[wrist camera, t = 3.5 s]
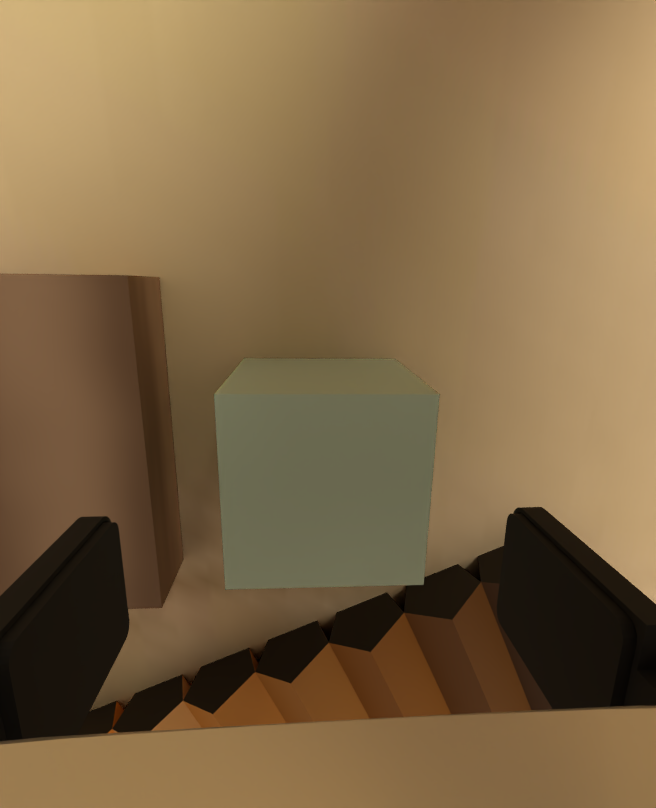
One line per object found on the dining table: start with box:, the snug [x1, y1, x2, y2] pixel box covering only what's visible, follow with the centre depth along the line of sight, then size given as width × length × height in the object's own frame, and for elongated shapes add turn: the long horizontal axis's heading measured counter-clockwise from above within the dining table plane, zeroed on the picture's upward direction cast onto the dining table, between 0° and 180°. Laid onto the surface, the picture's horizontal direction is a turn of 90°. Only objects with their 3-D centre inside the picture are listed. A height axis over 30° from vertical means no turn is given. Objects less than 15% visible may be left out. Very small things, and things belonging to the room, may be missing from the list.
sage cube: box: [214, 358, 440, 590], centre depth 15 cm, size 6×6×6 cm
